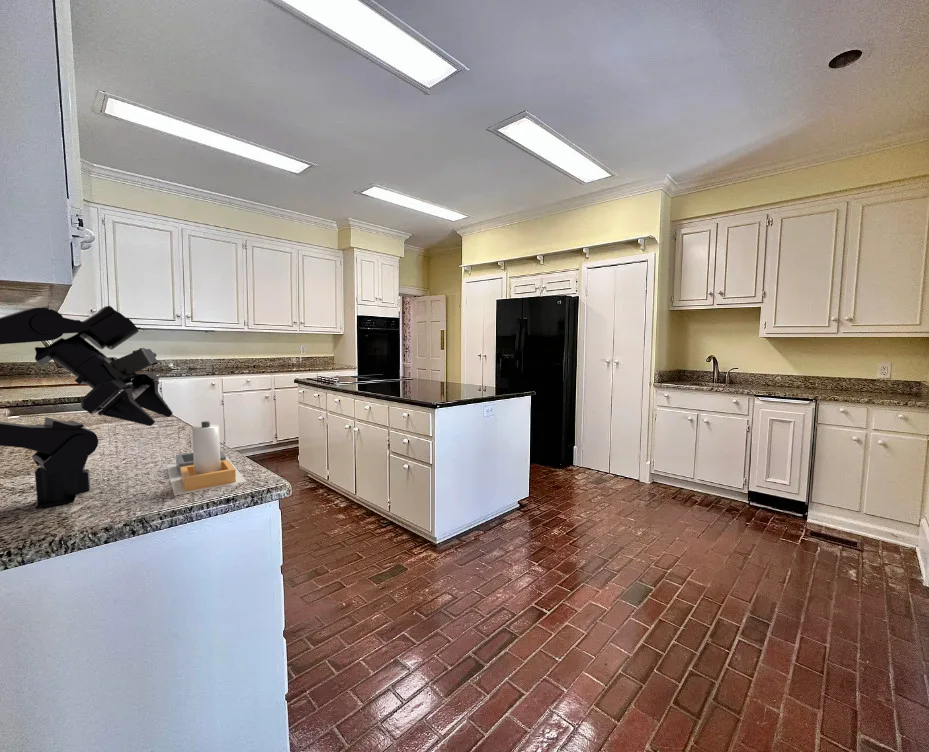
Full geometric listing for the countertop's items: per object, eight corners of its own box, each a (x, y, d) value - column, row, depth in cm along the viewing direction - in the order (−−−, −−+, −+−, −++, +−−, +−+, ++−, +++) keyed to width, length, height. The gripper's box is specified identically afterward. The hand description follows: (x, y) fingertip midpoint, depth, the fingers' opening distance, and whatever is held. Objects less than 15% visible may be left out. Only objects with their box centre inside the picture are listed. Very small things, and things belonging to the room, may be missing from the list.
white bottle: (190, 484, 81) (187, 424, 80) (200, 477, 85) (198, 420, 84) (216, 483, 82) (213, 423, 81) (224, 476, 86) (222, 419, 85)
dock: (174, 500, 76) (173, 482, 75) (166, 470, 93) (165, 455, 92) (247, 486, 83) (246, 469, 83) (227, 460, 100) (226, 446, 100)
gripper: (97, 334, 69) (177, 396, 74) (144, 334, 87) (207, 384, 92) (42, 381, 68) (128, 442, 72) (102, 372, 85) (167, 421, 90)
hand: (162, 419), depth 81 cm, fingers open, 9 cm apart
